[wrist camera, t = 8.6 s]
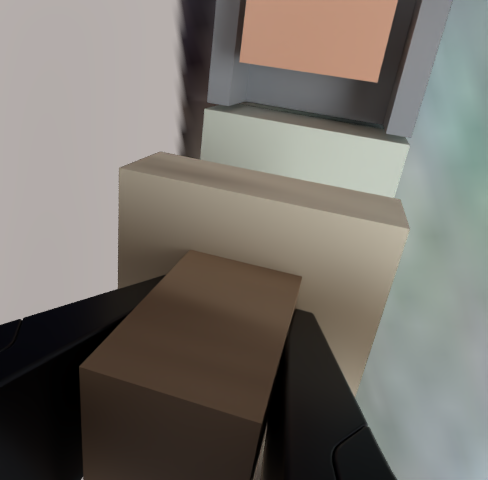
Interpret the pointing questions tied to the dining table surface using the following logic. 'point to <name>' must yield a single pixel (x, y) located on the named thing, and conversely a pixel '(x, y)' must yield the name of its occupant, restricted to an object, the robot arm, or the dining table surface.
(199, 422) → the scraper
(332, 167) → the deck
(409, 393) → the dining table surface
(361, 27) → the tile
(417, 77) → the tray
